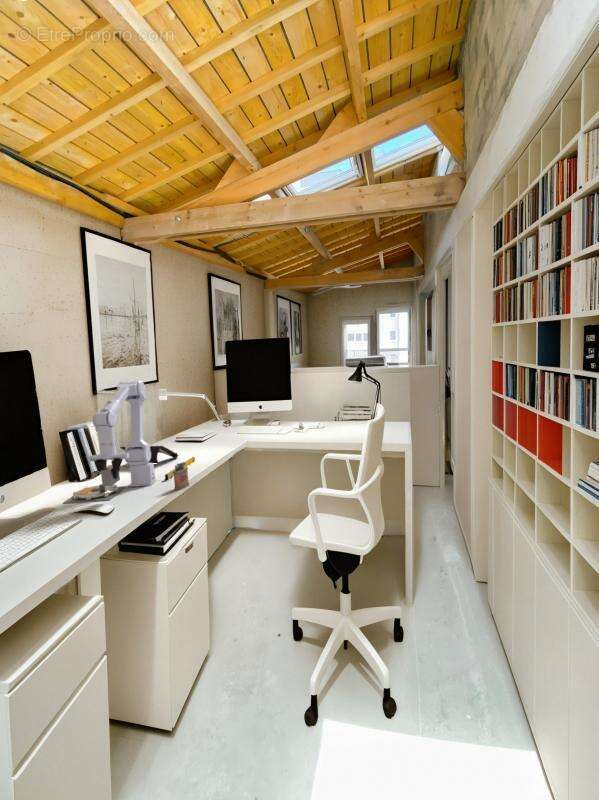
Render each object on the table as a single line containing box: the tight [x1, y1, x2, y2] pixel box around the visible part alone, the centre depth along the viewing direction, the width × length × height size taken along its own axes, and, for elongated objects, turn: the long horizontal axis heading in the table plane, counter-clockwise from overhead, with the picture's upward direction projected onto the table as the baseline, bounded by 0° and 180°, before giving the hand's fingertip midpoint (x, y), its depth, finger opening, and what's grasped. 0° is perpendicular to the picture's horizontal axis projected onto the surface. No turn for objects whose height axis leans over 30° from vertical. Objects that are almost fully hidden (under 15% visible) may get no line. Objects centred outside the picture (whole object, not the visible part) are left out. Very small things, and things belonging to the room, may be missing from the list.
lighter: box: [173, 461, 190, 491], centre depth 186 cm, size 8×3×10 cm, turn 160°
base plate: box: [62, 485, 128, 505], centre depth 184 cm, size 18×18×1 cm
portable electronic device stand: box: [119, 445, 179, 464], centre depth 236 cm, size 23×23×9 cm
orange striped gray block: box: [100, 464, 121, 486], centre depth 172 cm, size 4×8×6 cm, turn 2°
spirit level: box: [164, 456, 196, 481], centre depth 215 cm, size 33×1×3 cm, turn 173°
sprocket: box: [72, 483, 118, 500], centre depth 183 cm, size 17×17×4 cm
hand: (111, 478), depth 173 cm, fingers closed on orange striped gray block, 3 cm apart
